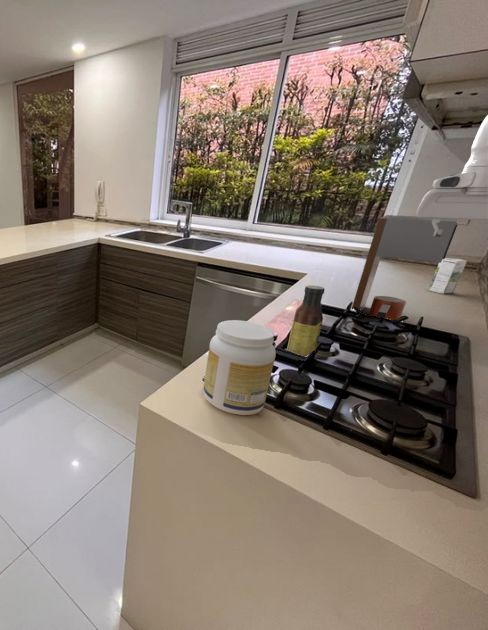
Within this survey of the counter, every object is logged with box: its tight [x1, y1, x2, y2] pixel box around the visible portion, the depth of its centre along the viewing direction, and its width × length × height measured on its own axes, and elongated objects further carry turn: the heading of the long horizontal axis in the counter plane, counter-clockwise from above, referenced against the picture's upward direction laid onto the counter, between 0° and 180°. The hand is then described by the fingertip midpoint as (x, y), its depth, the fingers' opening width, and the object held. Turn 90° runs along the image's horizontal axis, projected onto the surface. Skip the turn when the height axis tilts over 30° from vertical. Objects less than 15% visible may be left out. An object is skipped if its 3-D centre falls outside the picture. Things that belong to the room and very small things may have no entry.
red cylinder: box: [368, 295, 407, 320], centre depth 115 cm, size 8×21×7 cm, turn 133°
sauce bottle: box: [286, 285, 326, 356], centre depth 88 cm, size 6×6×20 cm
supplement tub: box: [202, 319, 277, 416], centre depth 71 cm, size 12×12×17 cm
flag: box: [351, 214, 459, 311], centre depth 114 cm, size 17×18×34 cm
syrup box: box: [427, 257, 468, 295], centre depth 145 cm, size 6×6×14 cm
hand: (463, 238), depth 86 cm, fingers open, 8 cm apart
